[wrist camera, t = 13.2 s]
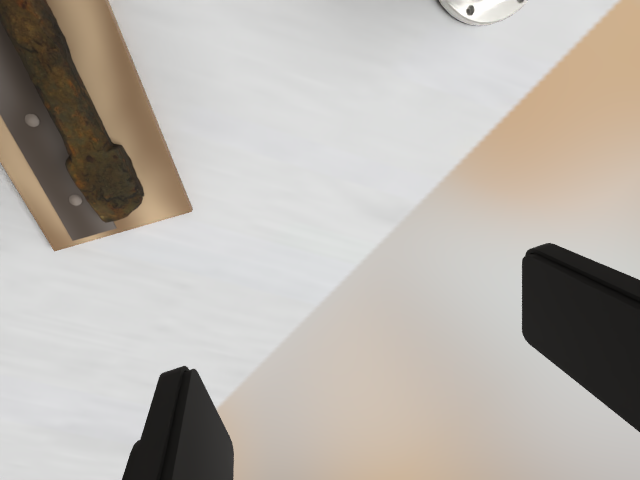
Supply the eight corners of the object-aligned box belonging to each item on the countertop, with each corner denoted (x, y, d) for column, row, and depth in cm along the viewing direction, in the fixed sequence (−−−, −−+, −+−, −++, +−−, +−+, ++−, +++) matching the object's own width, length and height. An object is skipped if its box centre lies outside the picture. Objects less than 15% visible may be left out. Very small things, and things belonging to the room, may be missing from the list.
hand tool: (-54, -46, 21) (29, -55, 22) (-15, -22, 25) (55, -31, 26) (88, 233, 28) (146, 217, 29) (102, 220, 32) (153, 206, 33)
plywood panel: (84, -59, 26) (76, -67, 25) (192, 209, 35) (191, 212, 33) (-102, -24, 25) (-120, -31, 23) (59, 247, 33) (52, 252, 32)
